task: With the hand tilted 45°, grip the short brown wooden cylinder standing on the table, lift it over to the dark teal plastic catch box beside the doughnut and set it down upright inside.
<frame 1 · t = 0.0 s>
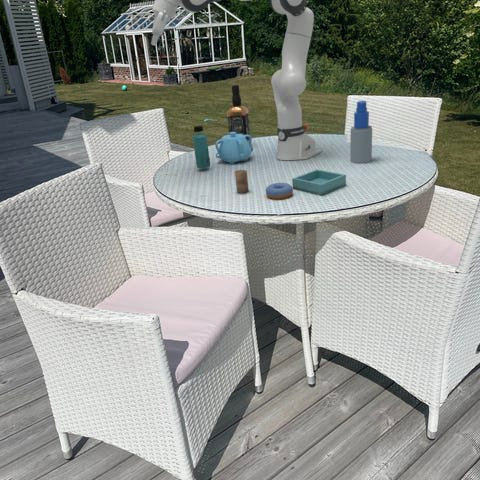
hand: (153, 45, 182), 54 cm above the table, tool tilted 30°, fingers open, 8 cm apart
whiskey bottle: (241, 148, 239), on the table
brown wooden cylinder: (242, 191, 172), on the table
spray bottle: (360, 161, 195), on the table
decorative pot: (235, 160, 217), on the table
catch box: (319, 186, 169), on the table
beverage bottle: (204, 170, 206), on the table
doughnut: (279, 196, 165), on the table
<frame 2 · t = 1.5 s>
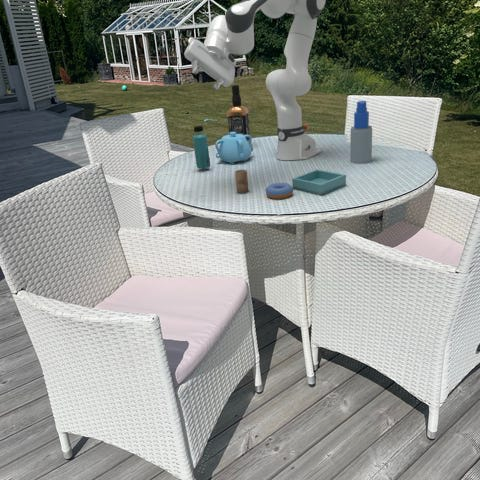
hand: (205, 80, 159), 41 cm above the table, tool tilted 50°, fingers open, 8 cm apart
nothing on the table moved.
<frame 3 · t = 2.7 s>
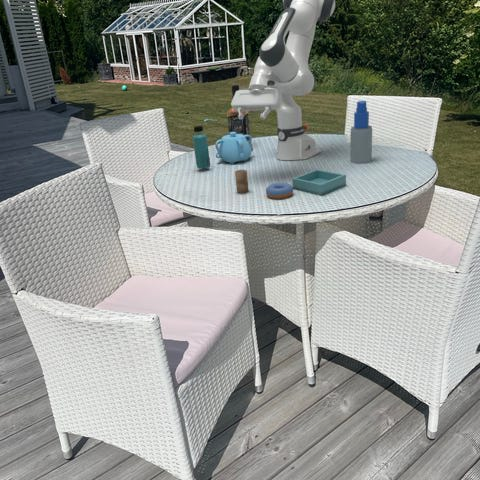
hand: (251, 118, 172), 25 cm above the table, tool tilted 45°, fingers open, 8 cm apart
nothing on the table moved.
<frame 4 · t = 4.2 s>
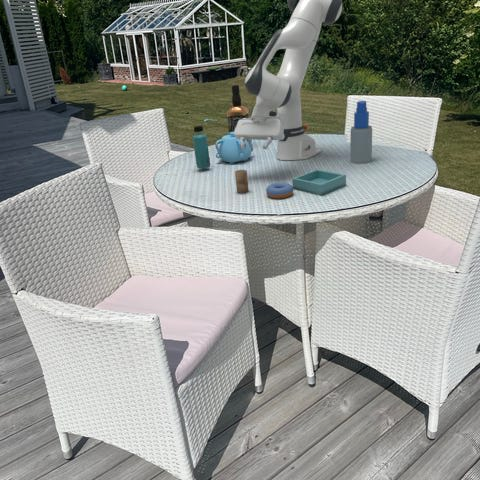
hand: (253, 148, 176), 14 cm above the table, tool tilted 45°, fingers open, 8 cm apart
nothing on the table moved.
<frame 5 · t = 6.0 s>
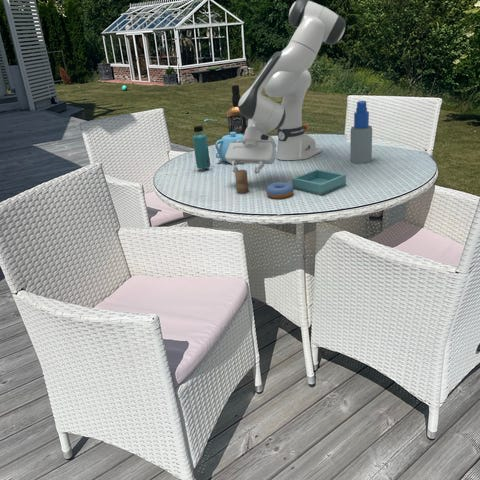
hand: (245, 172, 171), 7 cm above the table, tool tilted 45°, fingers open, 8 cm apart
nothing on the table moved.
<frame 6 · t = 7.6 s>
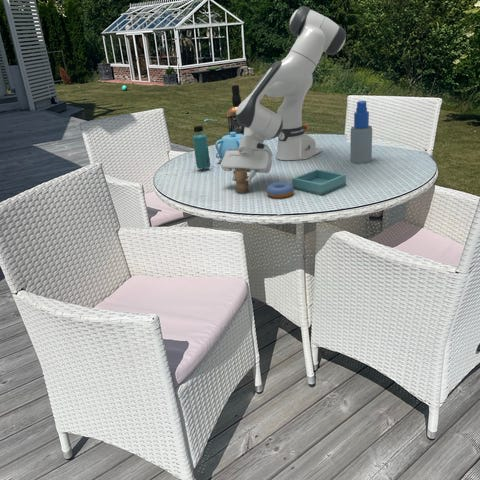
hand: (241, 181, 170), 4 cm above the table, tool tilted 45°, fingers closed on brown wooden cylinder, 4 cm apart
brown wooden cylinder: (242, 191, 172), on the table, touching gripper
when the fingers open (7 cm above the table, at t = 14.9 s): brown wooden cylinder drops 2 cm, resting on catch box.
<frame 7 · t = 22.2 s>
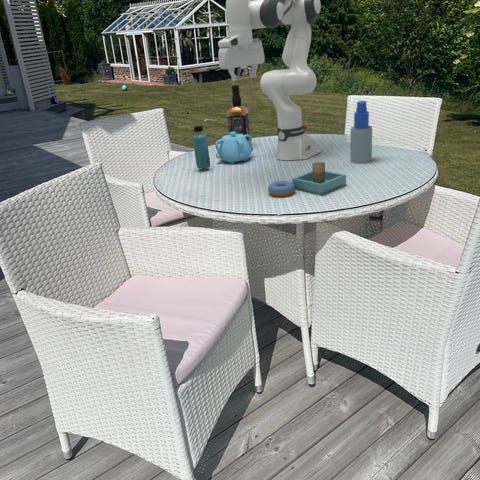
hand: (244, 79, 172), 39 cm above the table, tool pointing down, fingers open, 8 cm apart
brown wooden cylinder: (319, 184, 168), point 1 cm above the table, touching catch box
doughnut: (281, 194, 166), on the table
everything else where it was.
at the end: brown wooden cylinder inside the target area on the catch box (0.1 cm from its centre), point 1.0 cm above the catch box's base; brown wooden cylinder tilted 0°; the gripper is holding nothing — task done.
